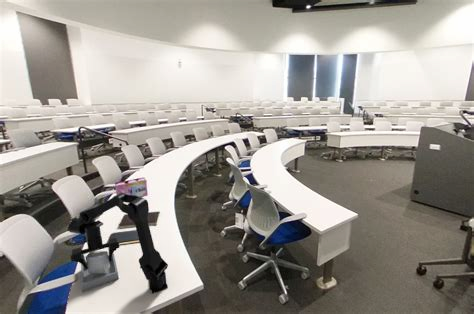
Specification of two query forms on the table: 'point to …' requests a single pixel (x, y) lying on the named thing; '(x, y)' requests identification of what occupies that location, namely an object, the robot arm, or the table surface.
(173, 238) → the table surface
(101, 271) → the medicine box
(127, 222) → the hardcover book
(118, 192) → the gum box
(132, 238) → the dark gray book
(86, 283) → the bin
